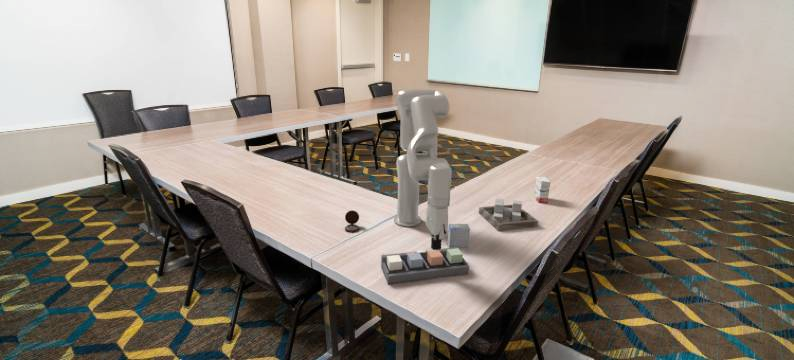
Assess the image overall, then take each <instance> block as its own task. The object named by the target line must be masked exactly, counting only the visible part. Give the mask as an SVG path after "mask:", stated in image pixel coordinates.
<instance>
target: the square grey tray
mask: <svg viewBox="0 0 794 360" xmlns="http://www.w3.org/2000/svg"><path fill="white" fill-rule="evenodd" d="M512 205H513V203H512V204H505V205H504V207H506V208H512ZM494 208H495V205H491V206H490V205H489V206H479V207H478V214H479V215H480V216H481V217H482V218H484V220H485V221H486V222H488V224H489V225H491V226H492V227H493V228H494V230H496V231H497V232H500V231H501V232H502V231H511V230H521V229H523V230H524V229H531V228H538V225H539V220H537V218H535V217H533V216H532V215H531V214H530V213H528V212H527V211H526V210H524V208H522V207H521V219H523V220H520V221H515V222H511V221H507V222H505V221H504V222H502V223H500V222H498V221H497V220H496V219H495V218H494V215H492V214H494Z"/></svg>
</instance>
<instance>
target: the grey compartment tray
mask: <svg viewBox="0 0 794 360" xmlns="http://www.w3.org/2000/svg"><path fill="white" fill-rule="evenodd" d="M456 248H458V249H459V250H460V247H447V248H441V249H438V250H439V251H440V253H441V254H442V255H443V264H442V265H433V266H431V265H430V263H429V262H428V260H427V252H429V251H438V250H433V249H432V248H431V249H426V250H425V249H423V250H416V251H414V250H413V251H406V252H398V253H391V254H390V253H389V254H382V255H380V259H381V261H380V268H381V270H382V273H383V276H384V278H385V280H386V284H387V285H394V284H401V283H402V284H403V283H410V282H411V283H412V282H418V281H425V280H434V279H441V278H450V277H458V276H466V275H469V274H470V265H469V264H468V262H467V260H466V259H464V257H463V259H462V262H459V263H450V262H449V260H448V259H447V257H446V256H447V249H456ZM411 253H420V255H421V256H422V258H423V267H416V268H410V266H409V264H408V262H407V254H411ZM392 255H399V256H400V258H401V260H402V269H399V270H391V271H390V270H389V268H388V266H387V256H392Z"/></svg>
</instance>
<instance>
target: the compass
mask: <svg viewBox="0 0 794 360" xmlns="http://www.w3.org/2000/svg"><path fill="white" fill-rule="evenodd" d="M344 216H345V217H344V219H345V222H347V225H346V226H345V227H344V231H346V232H348V233H357V232H358V231H359V230H361V229H364V227H361V226H359V225H357V223H358V221H359V219H360V215H359V213H358V211H355V210H349V211H347V212H345V215H344Z"/></svg>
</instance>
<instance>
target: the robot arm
mask: <svg viewBox="0 0 794 360" xmlns="http://www.w3.org/2000/svg"><path fill="white" fill-rule="evenodd" d="M396 107H397V111H398V114H399V118H400V119H399V120H400V129H399V130H400V133H399V134H400V136H399V137H400V139H399V142H400V144H399V145H400V147H401V149H402V151H405V152H406V154H401V155H400V156H398V157H397V159H396V173H397V210H396V211H397V212H396V213H397V214H396V215H394V216H393V223H395V224H396V225H398V226H400V227H408V228H409V227H415V226H418V225H420V224H421V223H422V218H421V216H419V202H420V201H419V200H420V183H419V181H428V182H427V183H428V184H427V185H428V186H427V202H426V203H427V208H426V216H425V226H426V227H427V229H428V231H429V232H430V234H431V242H430V243H431V244H430V248H431V249H433V250H438V249H442V241H443V240H445V235H448V229H449V207H450V205H451V204H450V203H451V187H452V174H453V173H452V167H451V166H450V164H449V162H448V161H447V159H445V158H443V157H438V135H439V127H438V122H437V118H441V119H442V118H447V116H448V115H449V113H450V102H449V100H448V98H447V97H446V95H445V94H444V93H442V92H441V91H439V90H438V89H430V88H429V89H418V88H416V89H414V88H413V89H410V88H409V89H403V90H400V91H398V93H397V94H396ZM416 152H425V153H416Z"/></svg>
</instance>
